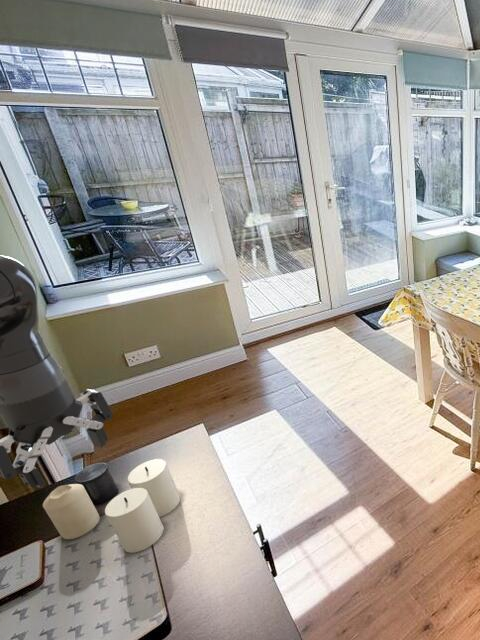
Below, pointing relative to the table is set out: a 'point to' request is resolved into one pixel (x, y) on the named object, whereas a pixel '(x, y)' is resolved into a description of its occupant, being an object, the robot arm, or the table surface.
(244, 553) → the table surface
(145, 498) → the candle
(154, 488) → the candle
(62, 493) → the candle
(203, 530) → the table surface
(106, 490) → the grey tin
